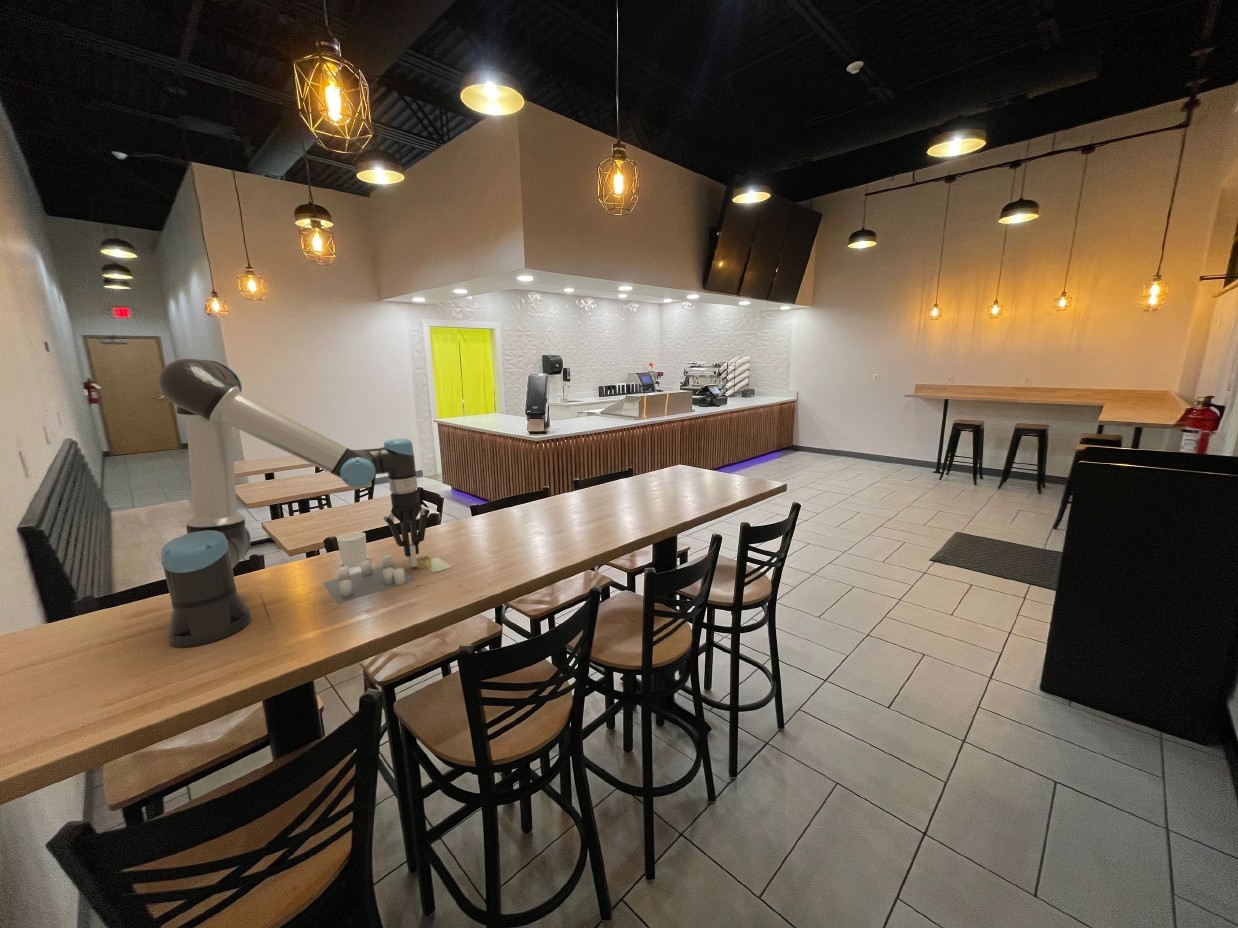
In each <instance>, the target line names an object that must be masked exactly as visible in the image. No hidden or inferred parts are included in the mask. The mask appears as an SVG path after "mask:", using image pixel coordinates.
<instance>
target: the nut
mask: <svg viewBox="0 0 1238 928" xmlns="http://www.w3.org/2000/svg"><path fill="white" fill-rule="evenodd" d="M416 558H417V566H414V567H415V568H416V569H417V570H418V569H426V568H428V569H429V568H431V567H432V564H431V559H432V557H430V556H429V555H423V556H417V557H416Z"/></svg>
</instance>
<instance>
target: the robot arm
mask: <svg viewBox="0 0 1238 928" xmlns="http://www.w3.org/2000/svg"><path fill="white" fill-rule="evenodd" d="M158 386H159V390H160V393H162V395H163V396H164V397H165V399H167V400H168V401H169V402H170V403H172V404H173V405H175V406H176V414H177V416H178V417H180V418H182V419H183V420H184V421H185V423H186V434H187V447H188V459H189V460H188V461H189V472H190V475H189V476H190V483H191V485H190V486H191V488H190V489H191V497H192V498H191V499H192V513H193V515H192V516H191V518H189V519H187V521H186V522H185V524H186V525H185V526H186V534H182V535H181V536H178V537H175V538H173V539H171V540H170V541H167V542H166V543H165V544H164V545H163V546H162V547H161V550H160V551H161V552H160V556H161V559H160V561H161V562H160V563H161V565H162V567H163V571H164V576H165V579H166V585H167V589H168V593H169V598H170V600H171V606H172V611H171V612H172V613H171V617H170V622H169V627H168V629H167V636H168V641H169V644H170V645H171V646H173V647H176V648H177V647H180V648H187V647H189V648H190V647H195V646H201V645H206V644H208V643H209V644H210V643H213V642H216V641H220V640H222V639H225V638H227V637H229V636H232V635H234V634H236V633H237V632H239V631H241V630H243V629H244V628H245V627H247V626H248V625H249V624H250V623H251V621H252V616H251V611H250V609H249V607H248V605H247V604H246V603H245V601H244V600H243V599H242V597H241V596H240V595H239V593H238V591H237V586H236V582H235V576H234V571H233V569H234V568H235V567H236V566H237V565H238V563H239V562H240V561H241V560H242V559H244V557H246V555H247V553H248V551H249V549H250V548H251V547H250V546H251V542H252V537H251V536H252V535H251V533H250V530H249V529H248V528H247V527H246V520H245V519H246V517H245V515H243V514H241V512H238V506H237V504H238V503H237V493H236V490H237V488H236V475H235V460H234V459H235V458H234V447H233V428H236V429H238V430H239V431H242V432H244V433H246V434H247V435H250V436H252V437H254V438H256V439H258V440H260V441H263V442H265V443H267V444H268V445H271V446H273V447H275V448H277V449H280V450H282V451H284V452H286V453H288V454H290V455H292V456H294V457H297V458H298V459H301V460H302V461H305V462H307V463H309V464H311V465H313V466H315V467H317V468H319V469H322V470H323V471H325V472H328V473H330V474H332V475H334V476H335V477H338V478H340V479H341V480H342V481H343V483H344V484H345V485H347V486H349V487H351V488H363V487H366V486H367V485H369V484H370V483H371V482H372V481H373V480H374V479H375V475H382V474H387V477H388V483H389V491H390V492H391V493H390V501H391V511H390V512H391V513H390V514H389V515H387V516H384V517H383V520H384V521H385V522H386V524H387V525H388V527H389V528H390V531H391V534H392V536H393V538H394V541H395V543H396V545H398V546H399V547H403V551H404V556H406V557H407V558H408V563H409V566H410V567H412V568H414V567H415V566H417V558H418V557H417V555H419V553H420V551H419V550H420V549H419V545H420V543H421V542H424V541H425V535H426V534H425V533H426V528H427V521H428V516H429V514H430V510H429V509H427V508H425V507H422V505H421V503H420V497H419V495H420V494H419V490H418V487H419V486H418V480H417V471H416V470H417V469H416V462H415V453H414V448H413V447H414V446H413V442H412V441H411V440H410V439H408V438H393V439H388V440H385V441H384V444H383V447H378V448H368V449H350V448H349V447H346V446H345V445H342V444H341V443H339V442H336V441H335V440H333V439H331V438H329V437H327V436H325V435H323V434H321V433H319V432H318V431H315V430H313V429H311V428H310V427H307V426H306V425H303V424H301V423H299V422H297V421H296V420H294V419H292V418H290V417H288V416H286V415H284V414H282V413H280V412H278V411H276V410H274V409H273V408H270V407H269V406H266V405H264V404H262V403H261V402H259V401H257V400H255V399H253V398H251V397H249V396H247V395H246V394H243V393H242V389H243V386H242V381H241V379H240V377H239V375H238V374H237V373H236V372H235V371H234V370H233V368H232V369H231V367H229V366H227V365H226V364H224V363H221V362H218V361H215V360H208V359H196V358H180V359H177V360H174V361H171V362H170V363H168V364H167V365H165V366H164V367H163V369H162V370H161V371H160V373H159V376H158ZM232 427H233V428H232ZM418 515H420V516H419V522H418V528H417V518H418ZM395 518H396V519H397V520H398V521H399V524H400V531H401V532H400V533H401V535H400V533H399V530H398V528H397V526H396V524H395ZM408 525H409V528H408ZM417 529H418V530H417ZM409 531H410V532H409ZM409 533H410V534H409ZM409 535H410V537H409ZM410 539H411V543H410Z"/></svg>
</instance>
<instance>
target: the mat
mask: <svg viewBox="0 0 1238 928" xmlns="http://www.w3.org/2000/svg"><path fill="white" fill-rule="evenodd" d="M431 564H432V567H431V568H428V569H429V570H431V571H432V573H433V572H434V573H435V574H436V573H439V572H442V571H445V570H449V569H452V568H453V567H452V566H451V565H450V564H448V563H447V562H445V561H444V560H442V559H441V558H439V557H435V558H431Z"/></svg>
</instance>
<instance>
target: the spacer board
mask: <svg viewBox="0 0 1238 928" xmlns="http://www.w3.org/2000/svg"><path fill="white" fill-rule="evenodd" d="M381 560H382V561H381V562H382V566H378V567H375V568H372V567H373V566H372V561H371V559H369V560H368V559H367V560H365V561H362V562H361V563H360V564H361V565H360V568H361V569H360V570H361V571H360V572H359V571H358V572H356V573H353V574H350V567H348V566H344V565H343V566H340V567H337V574H338V575H337V576H338V577H337V578H334V579H330V580H327V581H324V582H322V584H323V585H324V586H325V588H326V589H327V590H328V592H329V593H330V595H331V597H333V599H334V600H335V602H336V603H337V604H340V603H341V604H342V603H344V602H348V601H351V600H355V599H358V598H361V597H364V596H368V595H370V594H374V593H376V592H381V591H384V590H386V589H390V588H393V587H397V586H401V585H404V584H407V583H410V582H413V581H416V578H414V577H413V576H412V575H411V574H410V573H408V572H407V571H405V569H404V568H403V567H401V566H400V565H399V564H397V563H396V562H394V560H393V555H392V554H385V555H383V556H381Z"/></svg>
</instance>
